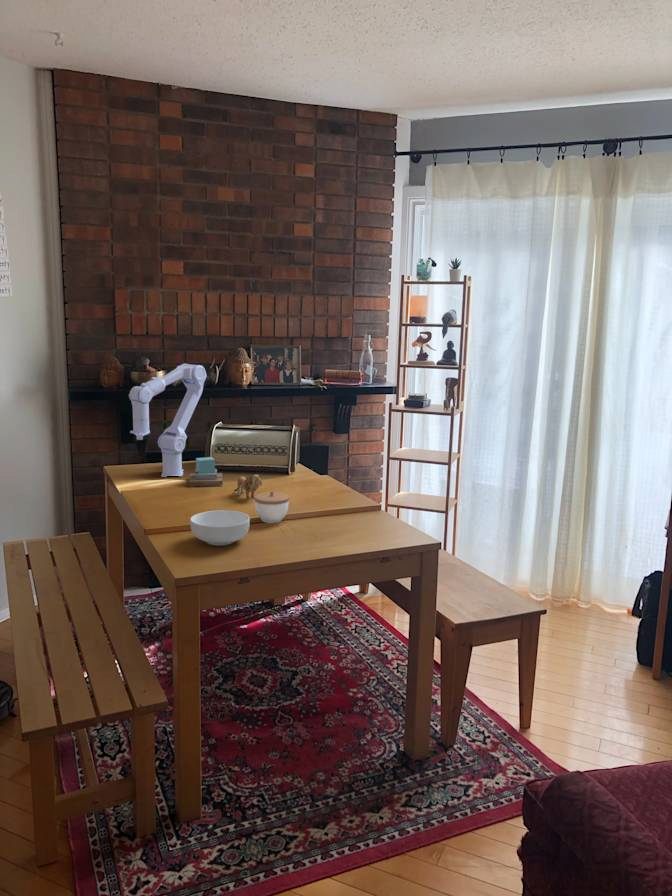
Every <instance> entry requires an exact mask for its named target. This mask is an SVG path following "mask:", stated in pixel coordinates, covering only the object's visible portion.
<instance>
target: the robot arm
mask: <svg viewBox="0 0 672 896" xmlns="http://www.w3.org/2000/svg"><path fill="white" fill-rule="evenodd" d="M207 377H208V375H207V372H206V369H205V367H204V366H203V365H202V364H201V365H200V364H190V363H189V364H188V363H182V364H180V365H177V366H176V368H175V369H172V370H171V371H170V372H168V373H166V374H165V375H163V376H162V377H158V376H156V377H155V376H153V377H151V378H150V380H148V381H147V382H142V383H141V384H140V385H139V386H138V385H136V386H135V385H134V386H133V387H132V388H131V389H130V391H129V394H128V398H129V401H131V405H132V427H133V428H132V429H133V430H130V431H129V433H130V434H133V435H134V436H133V442H134V443H135V445H136V448H137V449H136V450H137V453H138V457H140V456H142V457H143V456H146V453H147V448H148V447H147V446H148V442H149V440H150V437H151V436H150V435H149V434H151V430H150V407H149V405H150V404H149V403H150V402H151V400H152V399H153V397H155V396H157V395H158V394H160V393H163V392H164V391H165V390H166V386H168V385H171V384H173V383H175V382H177V381H179V380H181V381H182V382H183V384H184V387H186V393H185V395H184V397H183V399H182V401H181V404H180V406H179V407H178V410H177V412H176V414H175V416H174V418H173V421H172V423H171V425H170V426H168V427H167V428H165V429H164V431H163V433H162V434H161V435H159V437H158V439H157V445H158V447H159V449H160V450H161V451H160V452H161V454H162V473H161V478H163V477H164V478H168V477H167V476H179V477H183V475H184V472H185V470H184V469H183V466H182V465H183V463H182V462H183V461H182V460H183V459H182V458H183V457H182V453H183V451H184V450H185V448H186V440H187V439H188V435H187V434H186V432H185V431H186V429H187V427H188V424H189V423H190V420H191V418H192V416H193V413H194V412H195V409H196V407H197V405H198V402H199V400H200V399H201V396H202V394H203V390H204V384H205V381H206V378H207ZM183 471H184V472H183Z"/></svg>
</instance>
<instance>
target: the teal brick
mask: <svg viewBox="0 0 672 896" xmlns="http://www.w3.org/2000/svg"><path fill="white" fill-rule="evenodd" d="M215 469H216V460H215V458H214V457H212V456H206V457H196V458H195V470H196V472H198V473H199V474H205V473H215Z"/></svg>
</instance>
